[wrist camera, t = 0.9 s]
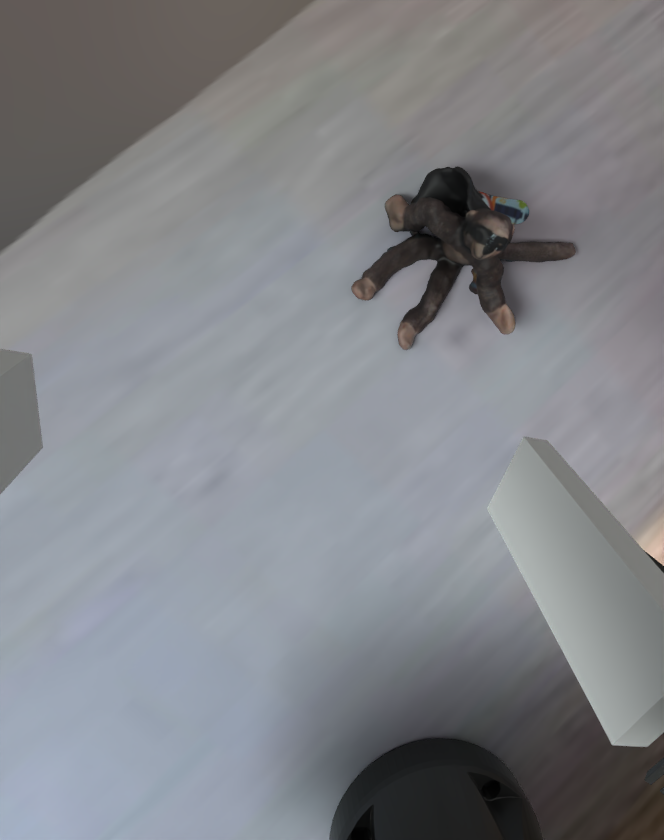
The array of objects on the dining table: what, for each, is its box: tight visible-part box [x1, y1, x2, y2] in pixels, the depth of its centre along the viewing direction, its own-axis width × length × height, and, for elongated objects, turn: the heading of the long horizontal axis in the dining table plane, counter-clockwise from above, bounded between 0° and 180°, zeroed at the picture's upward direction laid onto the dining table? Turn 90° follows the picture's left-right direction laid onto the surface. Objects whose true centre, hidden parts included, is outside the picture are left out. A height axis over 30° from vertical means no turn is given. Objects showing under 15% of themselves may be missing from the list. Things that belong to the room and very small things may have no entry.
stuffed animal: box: [351, 167, 576, 350], centre depth 30 cm, size 12×10×12 cm
